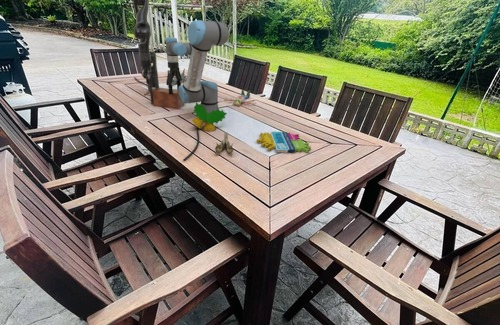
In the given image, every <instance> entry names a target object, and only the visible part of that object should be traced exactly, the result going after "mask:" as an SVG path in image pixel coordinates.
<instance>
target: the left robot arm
mask: <svg viewBox="0 0 500 325" xmlns="http://www.w3.org/2000/svg"><path fill="white" fill-rule="evenodd" d="M132 4H133V10H134V14H135V20H136V22H135V26H134V29H133V36H134V38H135V39H136V40H139V43H138V46H137V47H138V57H139V64H140V67H141V70H142V71H140V74H141V76H142V78H143V79H144V80H145V82H146V83H145V82H143V81H140V80H139V79H137V78H136V77H135V76H134V80H136V81H137V82H138V83H140V84H142V85H145V86H147V92H150V91H152V90H154V89H157V88H160V83H159V73H158V64H157V63H158V62H157V53H156V52H155V51H150V41H151V40H150V39H151V36H152V30H151V24H150V22H149V21H148V14H149V6H150V5H149V4H150V0H132ZM140 7H141V9H140Z"/></svg>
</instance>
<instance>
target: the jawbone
mask: <svg viewBox="0 0 500 325" xmlns="http://www.w3.org/2000/svg"><path fill="white" fill-rule="evenodd" d="M223 135H224V136H223V140H222V139H221V142H220V144H218V142H215V144H216V146H215V148H214V149H215V152H214V154H215V155H217V156H218V155H220V153H221V152H223V151H224V150H226V152H227V153H228V155H229V156H233V155H234V154H233V153H234V148H233V144H234V143H230V140H228V139H229V138H228V137H229V136H228V135H229V133H228V131H226V132H224V134H223Z"/></svg>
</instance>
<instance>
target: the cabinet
mask: <svg viewBox="0 0 500 325" xmlns="http://www.w3.org/2000/svg"><path fill="white" fill-rule="evenodd" d="M152 94H153V102H154V104H153V106H154V107H161V108H169V109H175V110H179V109H181V108H182V107H184V106H185V103H183V102H182V100H181V98H180V95H179V90H177V88H176V89H175V88H173V95H172V94H169V88H167V87H159V88H157V89H155V90H152Z"/></svg>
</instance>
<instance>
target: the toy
mask: <svg viewBox="0 0 500 325" xmlns="http://www.w3.org/2000/svg"><path fill="white" fill-rule="evenodd" d="M240 92H241V93H240V95H238V96H237V97H235V99H233V98H230V99H228V98H227V97H226V96H225V97H224V98H223V101H224V102H233V103H232V104H233V105H235V106H242V103H243V104H247V105H252V106H255V105H256V104H257V103H256V102H254V101H253V100H252V101H251V102H250V101H248V100H246V99H248V98H250V97H251V90H250V89H249V90H248V91H247V92H246V93H245V91H244V89H242V90H241V91H240Z"/></svg>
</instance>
